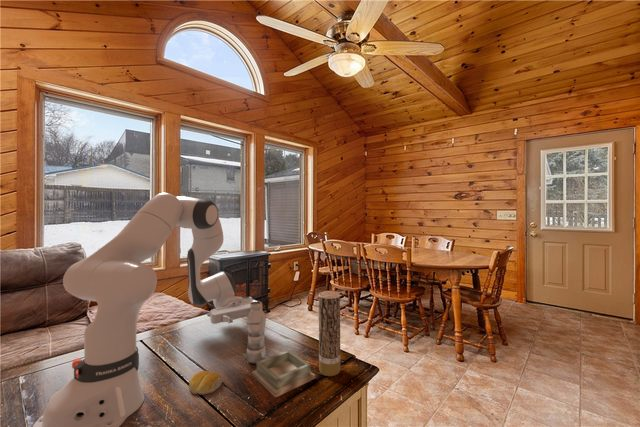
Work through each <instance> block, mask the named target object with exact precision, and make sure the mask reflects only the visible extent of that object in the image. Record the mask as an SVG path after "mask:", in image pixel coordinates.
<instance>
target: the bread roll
mask: <svg viewBox="0 0 640 427" xmlns="http://www.w3.org/2000/svg"><path fill="white" fill-rule="evenodd" d="M222 384H223V378H222V375H221V374H220V373H218V372H216V371H209V370H201V371H198V372H197V373H195V374H194V375H193V376H192V377H191V378H190V380H189V383H188V388H189V392H190V393H192V394H195V395H197V394H198V395H202V396H204V395H208V394H211V393H215V391H216V390H218V389H219V388H220V387H221V385H222Z"/></svg>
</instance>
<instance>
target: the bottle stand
mask: <svg viewBox="0 0 640 427" xmlns="http://www.w3.org/2000/svg"><path fill="white" fill-rule="evenodd" d="M251 372H252V373H251V374H252V377H254V379H255V380H256V381H257V382H258V383H259V384H261V385H262V386H263V387H264V388H265V389H266V390H267V391H268V392H269V393H270V394H271V395H272V396H273V397H274V398H278V397H281V396H282V395H284V394H285V393H288V392H290V391H292V390H294V389H296V388H299V387H301V386H302V385H304V384H307V383H309V382H312V381H314V380H315V379H316V373H314V372H312V371H311V364H310V363H308V361H306V360H305V359H303V358H302V357H300V356H298V355H297V354H295V353H293V352H292V351H291V350H290V349H288V350H286V351H283V352H280V353H277V354H276V355H275V354H274V355H273V356H270V357H267V358H265V359H264V360H261V361H259V362H257V363H256V369H255V370H253V371H251Z"/></svg>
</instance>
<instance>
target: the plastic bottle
mask: <svg viewBox="0 0 640 427" xmlns="http://www.w3.org/2000/svg"><path fill="white" fill-rule="evenodd" d="M261 308H262V310H261ZM250 309H251V311H250V312H249V314H248V316H247V317H246V320H245V321H246V327H247V348H246V352H245V353H246V354H245V356H246V360H247V362H249V363H250V364H257V362H259V361H261V360H264V359H266V354H267V348H266V342H265V330H266V328H265V327H266V322H267V321H266V320H267V316H266V313H265V312H264V311H263V303H262V301H260V300H256V301H255V302H251V303H250Z"/></svg>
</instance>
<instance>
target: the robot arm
mask: <svg viewBox="0 0 640 427" xmlns="http://www.w3.org/2000/svg"><path fill="white" fill-rule="evenodd" d="M175 228H182V229H189V230H191V235H192V237H193V238H192V240H193V241H192V244H191V247H190V248H189V249H188V250H187V254H186V255H187V256H186V257H187V258H186V261H187V284H188V285H187V286H188V287H187V294H188V295H187V297H188V300H189V302H190V303H191V304H192V305H194V306H197V307H202V306H204V305H206V304H208V303H209V302H212V304H213V306H214V307H215V308H212V309H211V310H209V312H206V316H207V317H209V319H210V322H211V323H212V324H215V325H216V324H220V323H228V324H230V323H234V321H233V320H240V319H243V318H247V316H248V314H249V312H250V311H251V309H250V303H251V302H255V301H257V300H256V299H253V297H252V296H235V295H236V293H237V292H236V291H237V284H236V282H235V279H234V277H233V276H232V275H231V274H230V273H229V272H227V271H224V270H223V271H219V272H217V273H215V274H212V275H211V276H208V277H205V278H203V279H201V267H202V265H203V264H204V262H206V261H207V260H208V259H210V257H212V256H213V255H214V254H216V253H217V252H218V251H219V250H220V249H221V247H222V246H223V243H224V232H223V228H222V222H221V220H220V217H219V208H218V206H217V205H216V204H215V202H214V201H212V200H210V199H207V198H198V197H191V196H178V195H177V196H175V195H173V194H172V193H169V192H161V193H157V194H156V195H155V196H153V197H151V198H150V199H149V200H148V201H147V202H146V203H145V204H143V205H142V206H141V207H140V208H139V209H138V211H137V212H136V213H135V214H134V216H132V218H131V219H130V220H129V221H128V222H127V224H126V225H125V226H124V227H123V229H121V231H120V232H119V233H118V234H117V235H116V236H114V237H112V239H110V241H108V242H107V243H105V244H104V245H103V246H101V247H100V248H99V249H97V250H96V251H95V252H93V253H92V254H91V255H89V256H87V257H86V258H84V259H82V260H80V261H77V262H75V263H73V264H72V265H70V267H68V268H67V270H66V271H65V273H64V275H63V277H62V278H63V279H62V285H63V287H64V289H65V291H66V292H67V293H69V294H70V295H72V296H73V297H75V298H77V299H79V300H83V301H90V302H96V303H97V310H96V314H95V318H94V320H93V321H91V322H90V323H88V325H87V326H86V328H85V329H84V331H83V338H84V340H83V344H84V345H83V347H84V348H83V350H84V352H83V353H84V358H83V359H81V358H79V357H78V358H75V359H73V361H72V363H71V368H72V369H73V378H72V379H71V380H70V381H68V382H67V383H65V385H64V386H63V387H61V388H60V389H59V390H57V391H56V392H55V393H54V394H53V395H52V396H51V398H50V399H49V400H48V402H47V404H46V407H45V409H44V412H43V414H42V415H41V416H40V417H39V418H38V419H37V420H36V421H35V422H34V424H33V426H32V427H121V425H123V424H124V422H125V420H127V418H128V417H129V416H131V415H132V414H133V413H135V412H136V411H137V410H139V409H140V407H141V406H142V405H143V403H144V401H145V395H144V392H143V388H142V386H141V382H140V377H139V366H140V351H139V347H138V346H137V333H138V332H137V331H138V330H137V325H138V318H139V314H140V312H141V309H142V306H143V304H145V302H147V301H148V300H149V299H150V298H151V297H152V295H153V294H154V293H155V291H156V289H157V285H158V276H157V273H156V270H155V269H154V268H152V266H149V265H148V264H147V265H146V264H144V263H143V262H145V261H146V260H148V259H149V260H150V259H151V258H153V257H154V256H156V255H157V254H158V253H159V251H160V250H161V249H162V247H163V245H164V244H165V243H166V242H167V239H169V237H170V236H171V234H172V233H173V231H174V230H175ZM261 310H262V311H263V307H262V308H261ZM40 421H41V422H40Z"/></svg>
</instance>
